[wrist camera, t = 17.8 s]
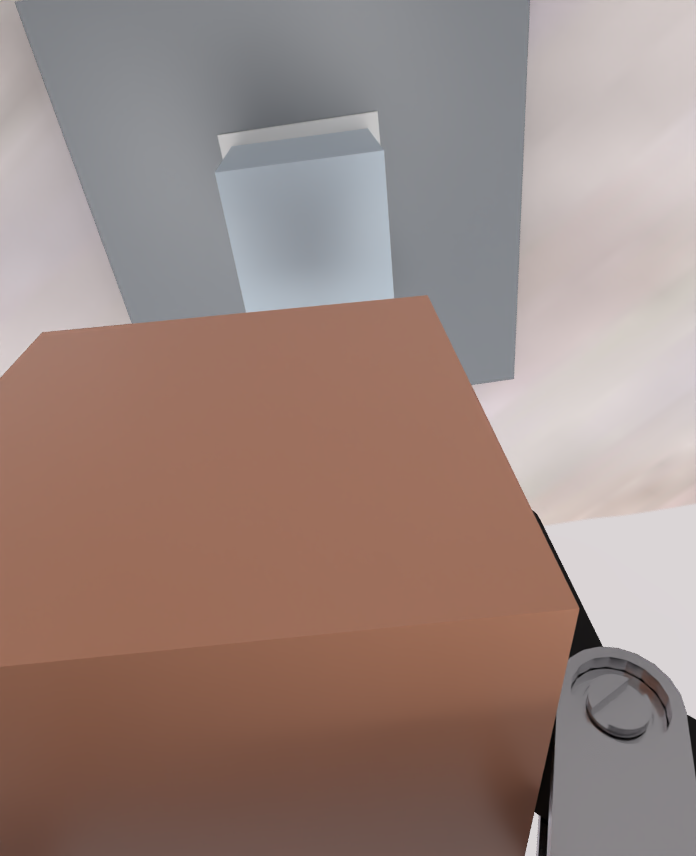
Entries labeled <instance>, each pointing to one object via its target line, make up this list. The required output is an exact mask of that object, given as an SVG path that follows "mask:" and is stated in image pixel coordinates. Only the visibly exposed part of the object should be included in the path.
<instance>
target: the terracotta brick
mask: <svg viewBox="0 0 696 856" xmlns="http://www.w3.org/2000/svg"><path fill="white" fill-rule="evenodd" d="M579 609H580V608H579V606H578V604H577V602H576V600H575V598H574V596H573V594H572V592H571V590H570V588H569V586H568V584H567V582H566V579H565V577H564V575H563V573H562V571H561V569H560V567H559V565H558V563H557V561H556V559H555V557H554V555H553V553H552V551H551V549H550V546H549V544H548V542H547V540H546V538H545V536H544V534H543V532H542V530H541V528H540V526H539V524H538V522H537V520H536V518H535V516H534V514H533V511H532V509H531V507H530V505H529V503H528V501H527V499H526V497H525V495H524V493H523V491H522V489H521V487H520V485H519V483H518V481H517V478H516V476H515V474H514V472H513V470H512V468H511V466H510V464H509V462H508V460H507V458H506V456H505V454H504V452H503V450H502V448H501V445H500V443H499V441H498V439H497V437H496V435H495V433H494V431H493V429H492V427H491V425H490V423H489V421H488V419H487V417H486V415H485V412H484V410H483V408H482V406H481V404H480V402H479V400H478V398H477V396H476V394H475V392H474V390H473V388H472V386H471V384H470V382H469V379H468V377H467V375H466V373H465V371H464V369H463V367H462V365H461V363H460V361H459V359H458V357H457V355H456V353H455V351H454V349H453V347H452V344H451V342H450V340H449V338H448V336H447V334H446V332H445V330H444V328H443V326H442V324H441V322H440V320H439V318H438V316H437V314H436V311H435V309H434V307H433V305H432V303H431V301H430V299H429V297H428V295H424V296H414V297H403V298H393V299H383V300H372V301H362V302H352V303H341V304H331V305H321V306H310V307H300V308H289V309H279V310H269V311H258V312H248V313H238V314H227V315H217V316H207V317H196V318H186V319H176V320H165V321H155V322H145V323H134V324H124V325H114V326H103V327H93V328H82V329H72V330H62V331H51V332H42V333H41V334H40V335H39V336H38V338H37V339H36V340H35V341H34V342H33V343H32V344H31V345H30V346H29V347H28V348H27V349H26V351H25V352H24V353H23V354H22V355H21V356H20V357H19V358H18V359H17V360H16V361H15V363H14V364H13V365H12V366H11V367H10V368H9V369H8V370H7V371H6V372H5V373H4V374H3V376H2V377H1V378H0V856H525V851H526V847H527V843H528V838H529V834H530V829H531V824H532V820H533V816H534V811H535V807H536V802H537V798H538V793H539V789H540V784H541V780H542V775H543V771H544V766H545V762H546V757H547V753H548V748H549V744H550V739H551V735H552V730H553V726H554V721H555V717H556V712H557V708H558V703H559V699H560V694H561V690H562V685H563V681H564V676H565V672H566V667H567V663H568V658H569V654H570V649H571V645H572V640H573V636H574V631H575V627H576V622H577V618H578V613H579Z"/></svg>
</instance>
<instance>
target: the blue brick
mask: <svg viewBox="0 0 696 856" xmlns="http://www.w3.org/2000/svg"><path fill="white" fill-rule="evenodd" d="M215 176H216V181H217V185H218V190H219V194H220V199H221V203H222V207H223V212H224V216H225V221H226V225H227V230H228V234H229V239H230V243H231V248H232V252H233V257H234V261H235V266H236V270H237V275H238V279H239V283H240V288H241V292H242V297H243V301H244V306H245V310H246V313H248V312H258V311H269V310H279V309H289V308H300V307H310V306H321V305H331V304H341V303H352V302H362V301H372V300H383V299H393V298H394V289H393V274H392V259H391V244H390V230H389V215H388V200H387V185H386V171H385V156H384V150H383V148H382V147H381V145H380V144H379V143H378V141H377V140H376V139H375V137H374V136H373V135H372V133H371V132H370V131H369V129H368V128H367V129H359V130H352V131H344V132H336V133H329V134H321V135H314V136H306V137H299V138H291V139H283V140H276V141H268V142H261V143H253V144H246V145H238V146H232V147H231V148H230V150H229V151H228V153H227V154H226V156H225V158H224V159H223V161H222V162H221V164H220V165H219V167H218V168H217V170H216V171H215Z"/></svg>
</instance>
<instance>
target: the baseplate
mask: <svg viewBox="0 0 696 856" xmlns="http://www.w3.org/2000/svg"><path fill="white" fill-rule="evenodd" d="M15 4H16V7H17V10H18V12H19V15H20V18H21V21H22V23H23V26H24V29H25V32H26V34H27V37H28V40H29V43H30V45H31V48H32V51H33V54H34V56H35V59H36V62H37V65H38V67H39V70H40V73H41V76H42V78H43V81H44V84H45V86H46V89H47V92H48V95H49V97H50V100H51V103H52V106H53V108H54V111H55V114H56V117H57V119H58V122H59V125H60V128H61V130H62V133H63V136H64V139H65V141H66V144H67V147H68V150H69V152H70V155H71V158H72V161H73V163H74V166H75V169H76V171H77V174H78V177H79V180H80V182H81V185H82V188H83V191H84V193H85V196H86V199H87V202H88V204H89V207H90V210H91V213H92V215H93V218H94V221H95V224H96V226H97V229H98V232H99V235H100V237H101V240H102V243H103V246H104V248H105V251H106V254H107V256H108V259H109V262H110V265H111V267H112V270H113V273H114V276H115V278H116V281H117V284H118V287H119V289H120V292H121V295H122V298H123V300H124V303H125V306H126V309H127V311H128V314H129V317H130V320H131V322H132V324H134V323H145V322H155V321H165V320H176V319H186V318H196V317H207V316H217V315H227V314H238V313H246V310H245V306H244V301H243V297H242V292H241V288H240V283H239V279H238V275H237V270H236V266H235V261H234V257H233V252H232V248H231V243H230V239H229V234H228V230H227V225H226V221H225V216H224V212H223V207H222V203H221V199H220V194H219V190H218V185H217V181H216V176H215V171H216V170H217V168H218V167H219V165H220V164H221V162H222V161H223V159H224V158H225V156H226V154H227V153H228V151H229V150H230V148H231V147H232V146H238V145H246V144H253V143H261V142H268V141H276V140H283V139H291V138H299V137H306V136H314V135H321V134H329V133H336V132H344V131H352V130H359V129H367V128H368V129H369V131H370V132H371V133H372V135H373V136H374V137H375V139H376V140H377V141H378V143H379V144H380V145H381V147H382V148H383V150H384V156H385V171H386V185H387V200H388V215H389V230H390V244H391V259H392V274H393V289H394V298H403V297H414V296H424V295H428V297H429V299H430V301H431V303H432V305H433V307H434V309H435V311H436V314H437V316H438V318H439V320H440V322H441V324H442V326H443V328H444V330H445V332H446V334H447V336H448V338H449V340H450V342H451V344H452V347H453V349H454V351H455V353H456V355H457V357H458V359H459V361H460V363H461V365H462V367H463V369H464V371H465V373H466V375H467V377H468V379H469V382H470V384H471V385H475V384H482V383H489V382H496V381H503V380H510V379H514V363H515V339H516V315H517V292H518V268H519V245H520V221H521V197H522V174H523V150H524V127H525V103H526V79H527V56H528V32H529V8H530V0H23V1H17V2H15Z"/></svg>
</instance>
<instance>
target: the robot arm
mask: <svg viewBox="0 0 696 856" xmlns="http://www.w3.org/2000/svg"><path fill="white" fill-rule="evenodd" d="M532 511H533V510H532ZM533 514H534V516H535V518H536V520H537V522H538V524H539V526H540V528H541V530H542V532H543V534H544V536H545V538H546V540H547V542H548V544H549V546H550V549H551V551H552V553H553V555H554V557H555V559H556V561H557V563H558V565H559V567H560V569H561V571H562V573H563V575H564V577H565V579H566V582H567V584H568V586H569V588H570V590H571V592H572V594H573V596H574V598H575V600H576V602H577V604H578V606H579V608H580V609H579V613H578V618H577V622H576V627H575V631H574V636H573V640H572V645H571V649H570V654H569V658H568V663H567V667H566V672H565V676H564V681H563V685H562V690H561V694H560V699H559V703H558V708H557V712H556V717H555V721H554V726H553V730H552V735H551V739H550V744H549V748H548V753H547V757H546V762H545V766H544V771H543V775H542V780H541V784H540V789H539V793H538V798H537V802H536V807H535V811H534V812H535V813H537V814H538V815H539V820H538V837H537V854H536V856H696V719H694V718H692V717H690V716H688V715H687V712H686V709H685V706H684V703H683V700H682V697H681V695H680V693H679V691H678V690H677V688H676V687H675V685H674V684H673V682H672V681H671V679H670V678H669V677H668V676H667V675H666V674H664V673H663V672H662V671H661V670H660V669H659V668H658V667H657V666H656V665H655V664H653V663H651V662H650V661H648V660H646V659H644V658H643V657H641V656H639V655H638V654H635V653H632V652H629V651H626V650H622V649H619V648H611V647H603V646H602V644H601V642H600V640H599V638H598V636H597V634H596V632H595V630H594V628H593V626H592V624H591V622H590V620H589V618H588V616H587V614H586V612H585V610H584V608H583V605H582V604H581V601H580V599H579V597H578V595H577V593H576V591H575V589H574V587H573V585H572V583H571V581H570V579H569V577H568V575H567V573H566V571H565V569H564V567H563V565H562V563H561V561H560V559H559V557H558V555H557V553H556V551H555V549H554V547H553V545H552V543H551V541H550V539H549V537H548V535H547V533H546V530H545V528H544V526H543V524H542V522H541V520H540V519H539V517H538V515H537V514H536V513H535V512H534V511H533Z"/></svg>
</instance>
